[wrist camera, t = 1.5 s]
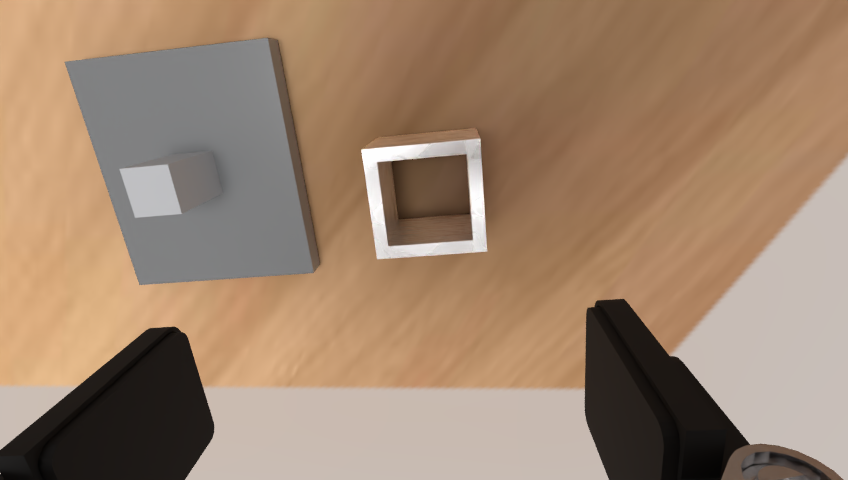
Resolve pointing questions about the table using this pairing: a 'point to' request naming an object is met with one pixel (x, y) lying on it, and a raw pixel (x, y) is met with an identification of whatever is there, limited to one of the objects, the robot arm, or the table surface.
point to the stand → (200, 160)
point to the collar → (427, 231)
